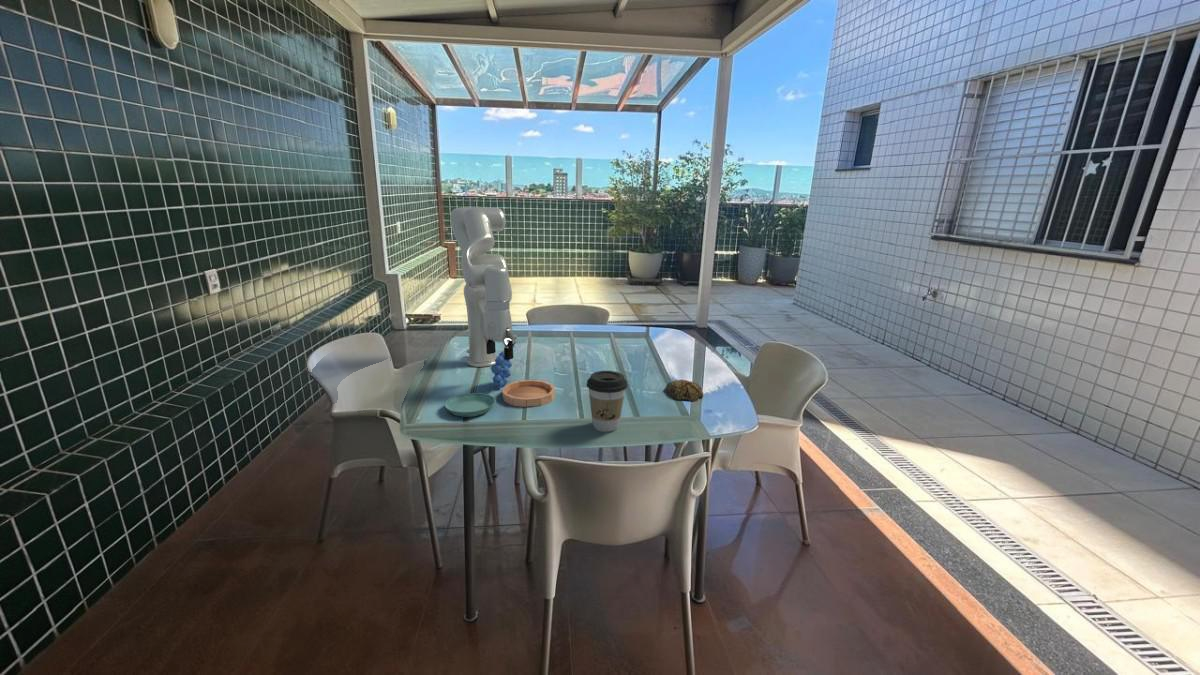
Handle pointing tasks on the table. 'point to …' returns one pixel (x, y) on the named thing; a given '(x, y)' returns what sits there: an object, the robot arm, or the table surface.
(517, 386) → the platter
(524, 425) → the table surface
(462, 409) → the saucer
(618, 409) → the coffee cup
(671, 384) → the bread roll
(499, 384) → the grapes
